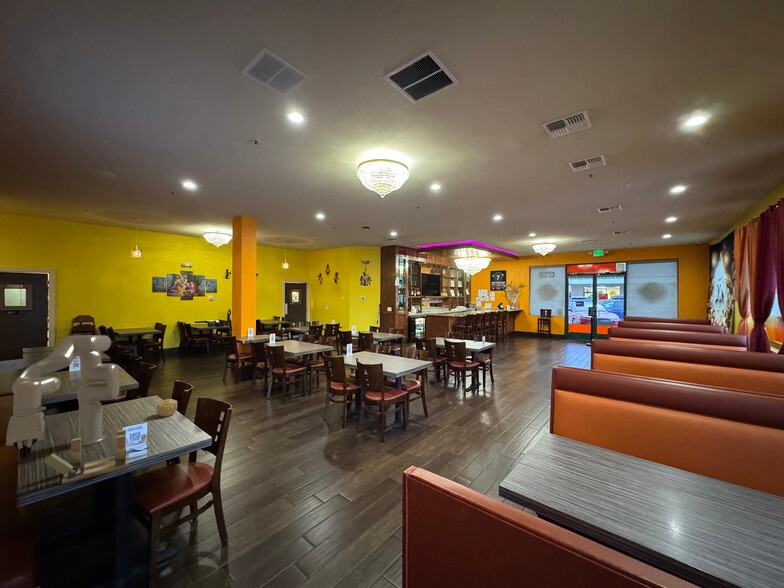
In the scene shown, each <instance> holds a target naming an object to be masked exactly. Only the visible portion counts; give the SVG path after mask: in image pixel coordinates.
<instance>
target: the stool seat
mask: <svg viewBox="0 0 784 588" xmlns="http://www.w3.org/2000/svg"><path fill="white" fill-rule="evenodd" d="M126 431H127V429H126V428H125V429H119V430H117V437H116V451H115V456H110V457H106V458H102V459H98V460H93V461H89V462H85V463H82V462H83V461H82V458H81V457H82V446H81V438H79V437H76V438H73V439H71V441H70V463H69V464H70V465H72V466H73V468H72V470H76V472H73V473H67V474H66V475H63V477H62V480H61V484H62V485H63V484H68V483H72V482H76V481H80V480H84V479H88V478H92V477H97V476H100V475H105V474H109V473H112V472H117V471H120V470H121V471H122V470H124V469H129V468H130V467H129V466H130V453H129V454H128V453H127V449H126V437H127V436H126V435H127V434H126V433H127V432H126ZM126 454H127V455H126Z"/></svg>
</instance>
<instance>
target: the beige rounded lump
mask: <svg viewBox="0 0 784 588" xmlns="http://www.w3.org/2000/svg"><path fill="white" fill-rule="evenodd" d="M177 409H178V400H175V399H172V398H166V399H162V400H161V401H160V402H158V403H157V404H156V414H157V415H158V416H159V417H162V418H166V417H170V415H171V416H173V415H174V414H176V412H177Z"/></svg>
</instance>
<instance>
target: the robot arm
mask: <svg viewBox="0 0 784 588" xmlns="http://www.w3.org/2000/svg"><path fill="white" fill-rule="evenodd" d="M111 345H112V340H111V338H110V337H109V336H108V335H105V334H103V335H94V334H93V335H91V334H90V335H89V334H86V335H85V334H83V335H82V334H81V335H75V334H74V335H68V336H65V337H64V338H61V341H59V343H58V344H57V345H56V346H55V347H54V349H53V351H52V352H51V353H49V356H47V357H46V358H44V359H40V360H39V361H37V362H35V363H34V364H31V365H30V366H28V367H27V368H25V369H24V370H23V371H22V372H21V373H20V374H19V375H18V377H17V378H16V379H15V381H14V382H13V384H12V387H11V391H12V393H13V406H12V408H13V409H12V413H13V414H12V416H10V418H9V422H8V425H7V431H6V436H5V437H6V438H5V439H6V440H5V446H8V447H9V446H13V447H16V448H17V449H19V455H18V456H19V457H20V458H21V460H22V459H28V457H29V456H30V455H31V454H32V446H33V445H34V444H35V443H36V442H39V441H42V440H44V439H45V438H46V435H45V433H46V423H45V422H46V420H45V419H46V418H45V413H44V412H43V411H45V410H46V409H47V407H46V406H43V405H42V396H46V395H51V394H53V393H55V392H57V391H58V390H59V389H60V387H61V385H62V384H61V383H62V382H61V379H60V378H58V377H57V376H44V375H46V374H49V373H53V372H56V371H59V370H63V369H65V368H67V367H69V366H70V365H71V364H72V362H74V360H75V358H76V357H77V356H78V357H79V366H80V367H79V369H80V371H79V373H80V379H81V380H82V382H85V383H86V384H83V385H81V386H80V387H79V388H78V389H77V391H76V397H77V401H78V410H79V411H78V438H81V447H82V446H84V447H85V446H90V445H95V444H98V443H100V442H103V441H105V439H107V438H106V437H107V436H106V434H103V415H104V414H103V411H104V408H103V405H102V403H101V402H100V401H109V400H111V401H112V400H114V399H116V398H117V397H118V396H119V394H120V370H119V367H118V365H117V364H115V363H112V362H111V363H102V355H101V353H100V352H106V351H108V349H110V347H111ZM93 382H94V383H93ZM25 441H27V444H26V445H25Z"/></svg>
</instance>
